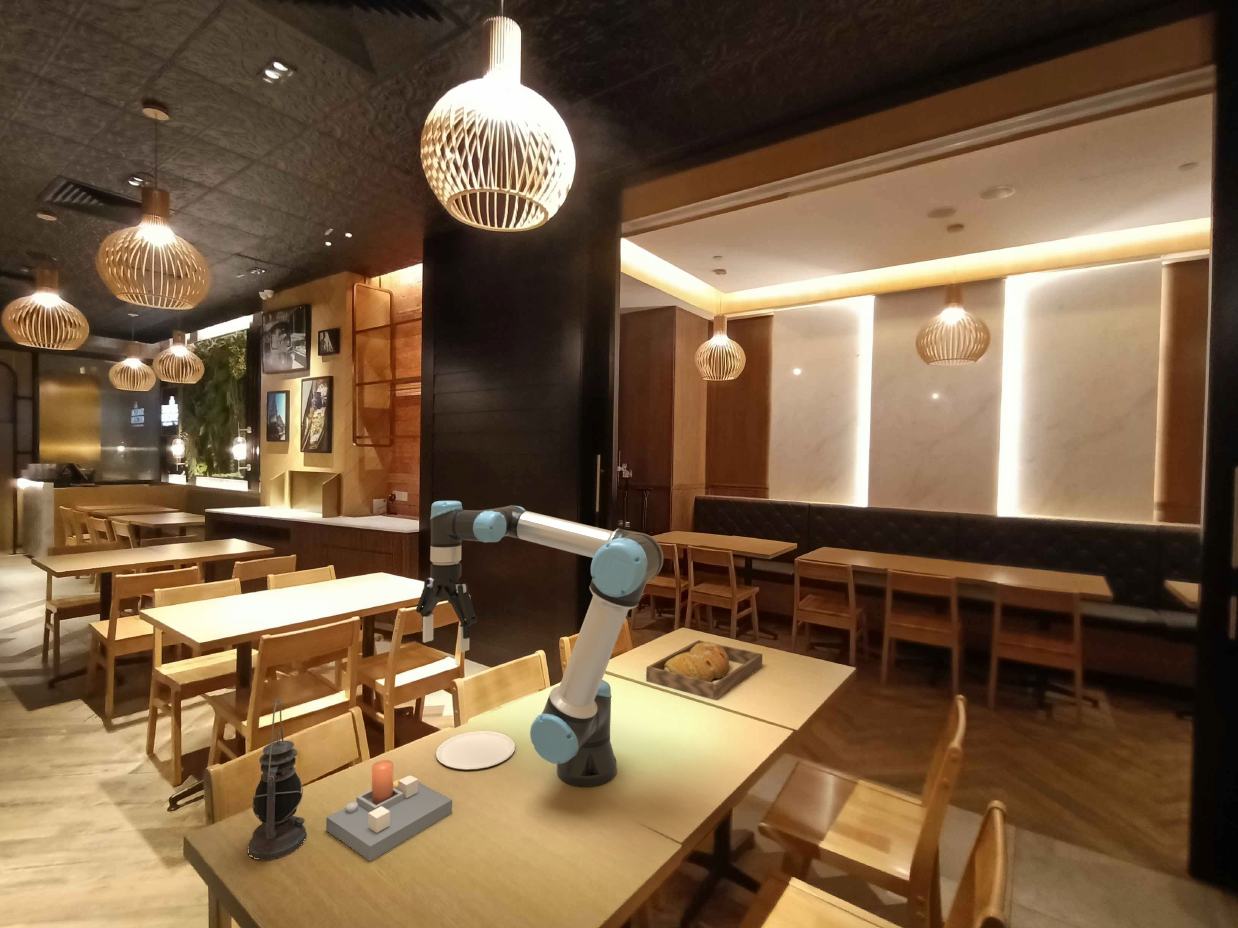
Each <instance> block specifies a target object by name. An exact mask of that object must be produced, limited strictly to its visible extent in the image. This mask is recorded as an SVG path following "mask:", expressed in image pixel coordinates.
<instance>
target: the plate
mask: <svg viewBox="0 0 1238 928" xmlns="http://www.w3.org/2000/svg"><path fill="white" fill-rule="evenodd" d="M515 751H516V744H515V741H514V740H513V739H512V738H511V737H510V736H508V735H506V734H504V733H500V732H497V731H490V730H489V731H488V730H479V731H469V732H464V733H460V734H456V735H454V736H452V737H450V738H448V739H446V740H444V741H443V742H442V743H441V744H440V745H439V746H438V747H437V748H436V752H435V756H436V757H435V758H436V759H437V761H438V762H439V764H441V765H444V766H445V767H447V768H449V769H454V770H459V771H460V770H461V771H476V770H477V771H479V770H483V769H484V770H485V769H488V768H491V767H495V766H498V765H500V764H501V763H504V762H506V761H507V760H508V759H510V758H511V757H512V756H513V754H514V752H515Z"/></svg>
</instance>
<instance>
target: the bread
mask: <svg viewBox="0 0 1238 928" xmlns="http://www.w3.org/2000/svg"><path fill="white" fill-rule="evenodd" d="M717 644H718V643H715V642H711V641H705V642H701V643H698V644H696V645H695V646H694V647H692V648H691V650H690V652H685V653H682V654H679V655H676V656H675V657H674V658H671V659H669V660H668V661H667V662H666V663H665V665H664V670H665V671H669V672H673V673H677V674H680V675H684V676H688V677H692V678H696V679H700V680H704V681H708V682H712V681H713V679H722V678H724V677H725V676H726V673H727V672H728V669H729V666H730V661H729V658H728V655H727V654H726V652H725V650H724V649H723V648H722V647H720V646H719V645H720V644H719V645H717Z"/></svg>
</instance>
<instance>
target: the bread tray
mask: <svg viewBox="0 0 1238 928" xmlns="http://www.w3.org/2000/svg"><path fill="white" fill-rule="evenodd" d="M701 642H706V641H704V640H700V639H699V640H696V641H695V642H692V643H690V644H689V645H686V646H684V647H682V648H680V649H679V650H677V651H675V652H673V653H671V654H669V655H667V656H665V657H663V658H661V659H660V660H658V661H655V662H654V663H652V664H650V665H648V666H646V667H645V668H646V671H645V673H646V678H645V681H646V682H647V683H652V684H656V685H659V686H663V687H666V688H670V689H673V690H677V691H680V692H684V693H689V694H692V695H695V696H699V697H703V698H706V699H709V700H710V699H711V700H714V701H717V700H719V699H720V698H722V697H723V696H725V694H727V693H729V692H730V691H731V690H733V689H734V688H735V687H737V686H738V685H739V684H741V683H743V682H744V681H745V680H746V679H747V678H749V677H750V676H752V675H753V674H755V673H756V672H758V671H759V670H760V669H761V668H762V667H763V653H759V652H754V651H752V650H751V651H750V650H746V649H740V648H736V647H731V646H727V645H723V644H718V643H716V644H717V645H719V646H720V647H722V648H723V649H724V650H725V652H726V654H727V655H728V658H729V662H734V663H739V664H741V665H740V666H739V667H737V668H736V669H734V670H732V671H731V672H730V673H728V674H727V675H724V676H723V677H721V678H720V679H719V680H718V681H716V682H712V681H711V682H708V681H704V680H700V679H696V678H692V677H688V676H684V675H680V674H677V673H673V672H669V671H665V670H664V665H665V663H666V662H667V661H668V660H669V659H671V658H674V657H675V656H676V655H679V654H682V653H685V652H690V650H691V648H692V647H694V646H695V645H696V644H698V643H701Z"/></svg>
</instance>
